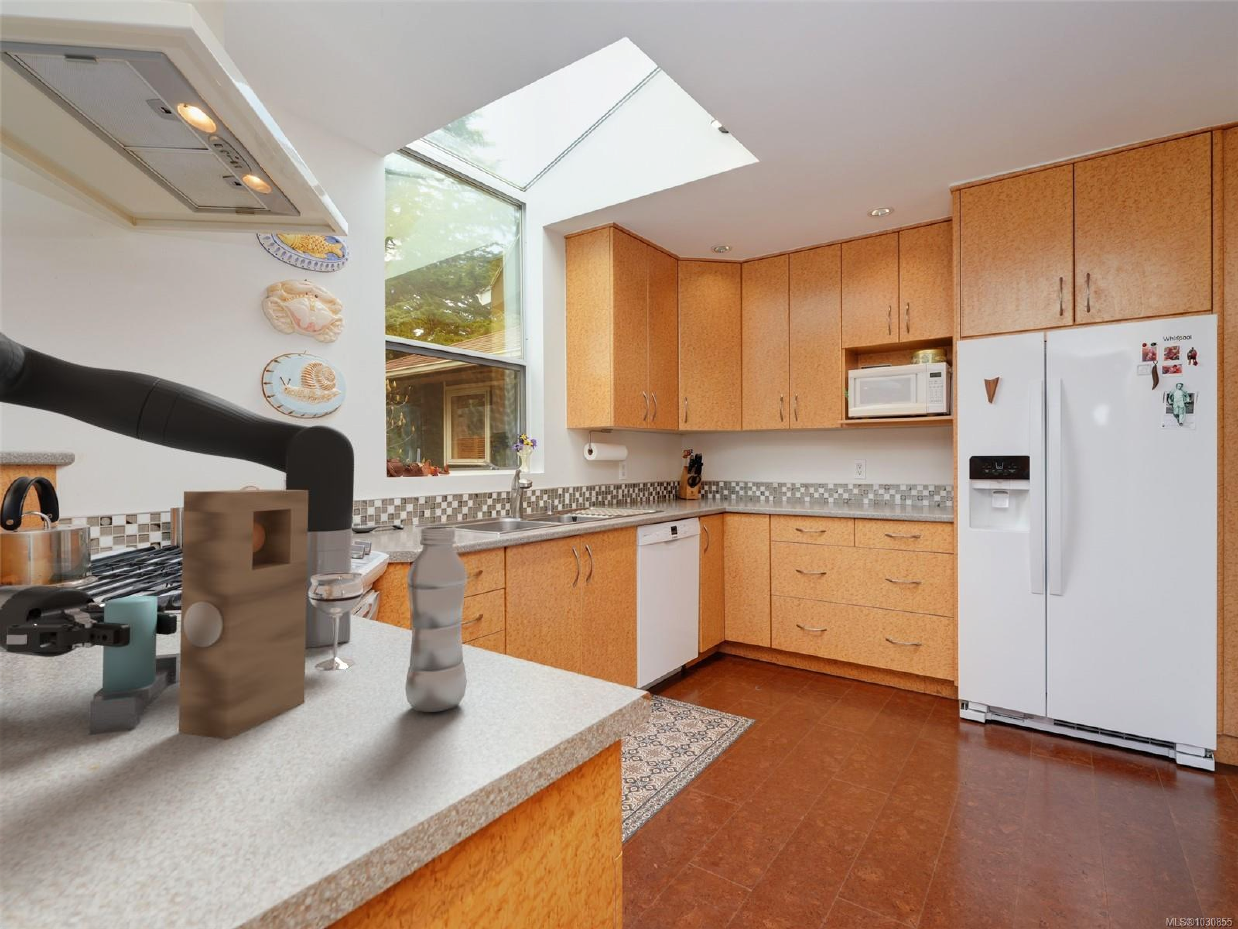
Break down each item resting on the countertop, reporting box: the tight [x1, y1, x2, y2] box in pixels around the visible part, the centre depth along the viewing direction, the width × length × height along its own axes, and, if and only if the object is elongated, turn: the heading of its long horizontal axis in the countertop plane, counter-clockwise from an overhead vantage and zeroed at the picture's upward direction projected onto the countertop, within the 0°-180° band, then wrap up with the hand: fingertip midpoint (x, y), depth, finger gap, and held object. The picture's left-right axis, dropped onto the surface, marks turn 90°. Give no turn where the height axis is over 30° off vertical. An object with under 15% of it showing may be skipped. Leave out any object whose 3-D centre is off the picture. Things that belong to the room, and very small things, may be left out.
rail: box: [88, 653, 180, 735], centre depth 68 cm, size 4×16×3 cm, turn 23°
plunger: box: [253, 523, 265, 553], centre depth 65 cm, size 7×3×3 cm, turn 76°
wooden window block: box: [178, 489, 308, 740], centre depth 64 cm, size 6×10×24 cm, turn 166°
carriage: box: [92, 595, 162, 700], centre depth 65 cm, size 5×5×10 cm
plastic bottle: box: [404, 525, 468, 713], centre depth 67 cm, size 6×7×20 cm
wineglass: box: [309, 571, 364, 671], centre depth 82 cm, size 7×7×12 cm
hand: (150, 629), depth 64 cm, fingers closed on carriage, 4 cm apart
